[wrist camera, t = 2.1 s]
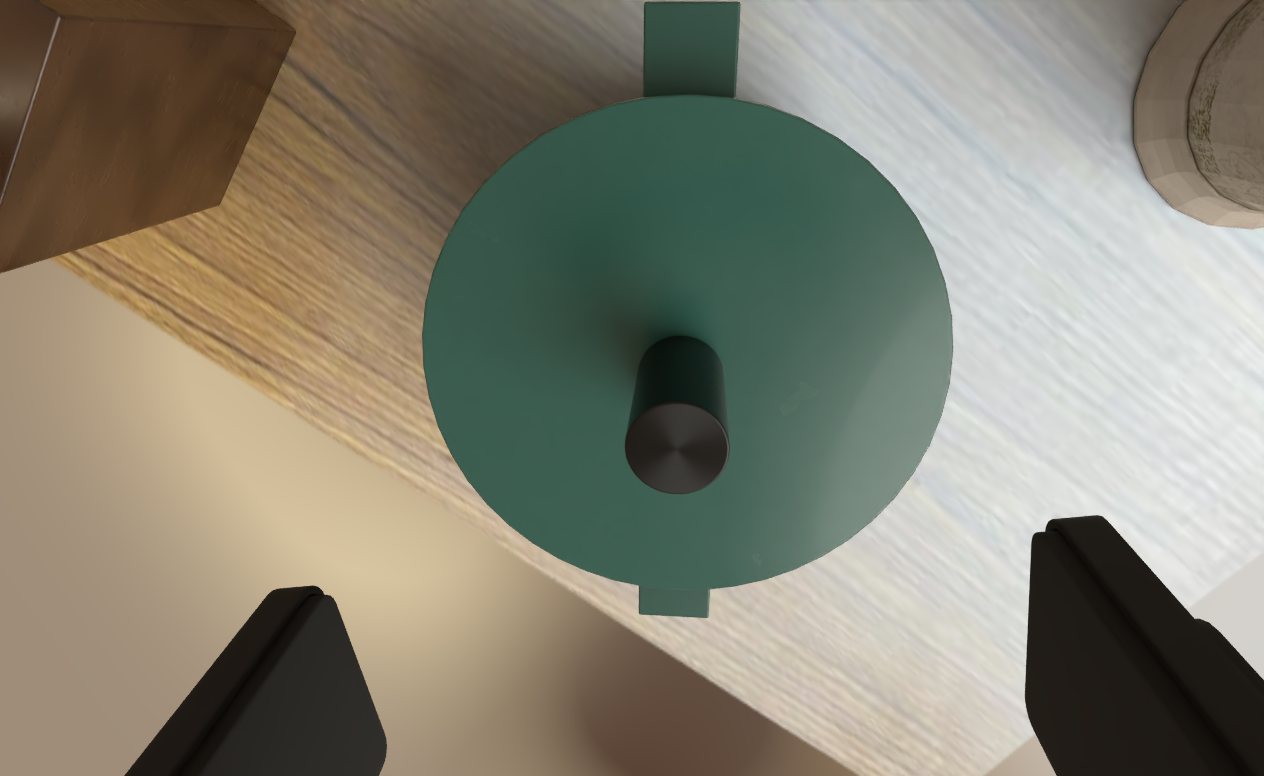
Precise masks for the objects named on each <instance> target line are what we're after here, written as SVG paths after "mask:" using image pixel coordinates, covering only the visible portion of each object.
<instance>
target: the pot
mask: <svg viewBox="0 0 1264 776" xmlns="http://www.w3.org/2000/svg"><path fill="white" fill-rule="evenodd" d="M739 23H740V2H645V3H644V65H643V97H646V96H652V95H668V94H684V93H693V94H706V95H719V96H729V97H734V98H736V80H737V61H738V42H739ZM709 598H710V589H706V590H671V589H661V588H652V587H643V586H639V614H642V615H661V616H680V617H699V618H708V616H709Z"/></svg>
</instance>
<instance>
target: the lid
mask: <svg viewBox="0 0 1264 776" xmlns="http://www.w3.org/2000/svg"><path fill="white" fill-rule="evenodd" d="M422 342H423V366H424V372H425V378H426V383H427V389H428V395H429V399H430V402H431V405H432V408H433V412H434V415H435V418H436V421H437V424H438V427H439V429H440V431H441V434H442V436H443V438H444V440H445V442H446V444H447V446H448V449H449V451H450V453H451V455H452V457H453V458H454V460H455V461H456V463H457V464H458V466H459V468H460V469H461V471H462V472H463V474H464V476H465V477H466V479H467V480H468V482H469V483H470V484H471V485H472V486H473V488H474V489H475V490H476V491H477V493H478V494H479V495H480V496H481V497H482V499H483V500H484V501H485V502H486V504H487V505H488V506H489V507H491V508H492V509H493V510H494V511H495V512H496V513H497V514H498V515H499V516H500V517H501V518H502V519H503V520H504V521H505V522H506V523H507V524H508V525H509V526H511V527H512V528H513V529H515V530H516V531H517V532H519V533H520V534H521V535H523V536H524V537H525V538H526V539H528V540H529V541H530V542H532V543H533V544H535V545H537V546H538V547H540V548H542V549H543V550H545V551H547V552H548V553H550V554H552V555H553V556H555V557H557V558H558V559H561V560H563V561H565V562H567V563H569V564H572V565H574V566H576V567H578V568H580V569H583V570H585V571H587V572H591V573H594V574H597V575H600V576H603V577H606V578H609V579H612V580H615V581H620V582H624V583H629V584H634V585H638V586H643V587H652V588H661V589H671V590H706V589H715V588H724V587H733V586H739V585H743V584H748V583H752V582H757V581H761V580H765V579H768V578H771V577H774V576H777V575H780V574H783V573H786V572H789V571H792V570H794V569H796V568H799V567H801V566H803V565H805V564H807V563H809V562H811V561H813V560H816V559H818V558H820V557H822V556H823V555H825V554H827V553H828V552H830V551H832V550H833V549H835V548H836V547H838V546H840V545H841V544H843V543H844V542H846V541H848V540H849V539H850V538H851V537H853V536H854V535H855V534H856V533H858V532H859V531H860V530H861V529H863V528H864V527H865V526H866V525H868V524H869V523H870V522H871V521H873V520H874V519H875V518H876V517H877V516H878V515H879V514H880V513H881V511H882V510H883V509H884V508H885V507H886V506H887V505H888V504H889V503H890V502H891V501H892V500H893V499H894V498H895V497H896V496H897V494H898V493H899V492H900V490H901V489H902V488H903V486H904V485H905V484H906V482H907V481H908V480H909V478H910V477H911V476H912V474H913V473H914V471H915V470H916V468H917V466H918V464H919V463H920V461H921V459H922V457H923V456H924V454H925V452H926V450H927V449H928V447H929V445H930V443H931V440H932V438H933V435H934V433H935V430H936V428H937V425H938V423H939V420H940V418H941V415H942V412H943V408H944V404H945V400H946V396H947V392H948V388H949V384H950V375H951V366H952V356H953V334H952V315H951V310H950V304H949V299H948V294H947V288H946V283H945V280H944V277H943V274H942V271H941V269H940V266H939V263H938V260H937V257H936V254H935V251H934V249H933V247H932V245H931V243H930V241H929V239H928V237H927V235H926V234H925V232H924V230H923V228H922V226H921V224H920V222H919V220H918V218H917V217H916V215H915V214H914V213H913V211H912V210H911V209H910V207H909V206H908V204H907V203H906V202H905V200H904V199H903V198H902V196H901V195H900V194H899V192H898V191H897V189H896V188H895V187H894V186H893V185H892V184H891V183H890V182H889V181H888V180H887V179H886V178H885V177H884V176H883V175H882V174H881V173H880V172H879V171H878V170H877V169H876V168H875V167H874V166H873V165H872V164H871V163H870V162H869V161H868V160H867V159H865V158H864V157H863V156H861V155H860V154H859V153H857V152H856V151H855V150H854V149H852V148H851V147H850V146H848V145H847V144H846V143H844V142H843V141H842V140H840V139H839V138H837V137H836V136H834V135H832V134H830V133H828V132H826V131H825V130H823V129H821V128H819V127H817V126H815V125H814V124H812V123H810V122H808V121H806V120H805V119H803V118H800V117H798V116H795V115H792V114H790V113H787V112H784V111H782V110H779V109H776V108H774V107H771V106H768V105H766V104H761V103H757V102H752V101H748V100H743V99H738V98H734V97H729V96H719V95H706V94H693V93H684V94H668V95H652V96H646V97H641V98H636V99H632V100H627V101H622V102H617V103H612V104H610V105H607V106H604V107H601V108H598V109H595V110H593V111H590V112H587V113H584V114H581V115H579V116H576V117H574V118H572V119H570V120H568V121H567V122H565V123H563V124H561V125H559V126H557V127H555V128H553V129H551V130H549V131H547V132H546V133H544V134H542V135H540V136H539V137H537V138H536V139H535V140H533V141H532V142H530V143H529V144H528V145H526V146H525V147H523V148H522V149H521V150H519V151H518V152H516V153H515V154H514V155H512V156H511V157H510V158H509V159H508V160H507V161H506V162H505V163H504V164H502V165H501V166H500V167H499V168H498V169H497V170H496V171H495V172H494V173H493V174H492V175H491V176H490V177H489V178H488V179H487V180H486V181H485V182H484V183H483V184H482V186H481V187H480V188H479V189H478V191H477V192H476V193H475V195H474V196H473V197H472V198H471V200H470V201H469V202H468V203H467V205H466V206H465V207H464V209H463V210H462V212H461V213H460V215H459V217H458V219H457V220H456V222H455V224H454V226H453V227H452V229H451V231H450V233H449V234H448V236H447V238H446V240H445V242H444V245H443V247H442V250H441V252H440V255H439V257H438V260H437V262H436V265H435V267H434V270H433V273H432V277H431V281H430V285H429V290H428V294H427V298H426V302H425V311H424V321H423V332H422Z"/></svg>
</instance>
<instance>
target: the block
mask: <svg viewBox="0 0 1264 776" xmlns="http://www.w3.org/2000/svg"><path fill="white" fill-rule="evenodd" d="M295 33H296V31H295V30H294V29H293V28H292V27H290V26H289V25H287V24H286V23H284V22H283V21H281V20H280V19H278V18H277V17H276V16H274V15H273V14H271V13H270V12H268V11H267V10H265V9H264V8H263V7H261V6H260V5H258V4H257V3H255V2H254V1H252V0H0V274H1V273H4V272H7V271H10V270H13V269H16V268H20V267H23V266H26V265H29V264H33V263H35V262H39V261H42V260H45V259H49V258H52V257H55V256H58V255H61V254H65V253H68V252H71V251H74V250H77V249H81V248H84V247H87V246H90V245H93V244H97V243H100V242H103V241H106V240H109V239H113V238H116V237H119V236H122V235H126V234H129V233H132V232H135V231H138V230H142V229H145V228H148V227H151V226H154V225H158V224H161V223H164V222H167V221H170V220H174V219H177V218H180V217H183V216H186V215H190V214H193V213H196V212H199V211H202V210H206V209H209V208H212V207H215V206H218V205H220V203H221V200H222V198H223V196H224V194H225V191H226V189H227V187H228V185H229V182H230V180H231V178H232V176H233V173H234V171H235V169H236V167H237V164H238V162H239V160H240V157H241V155H242V153H243V151H244V148H245V146H246V144H247V142H248V139H249V137H250V135H251V133H252V130H253V128H254V126H255V124H256V121H257V119H258V117H259V115H260V112H261V110H262V108H263V106H264V103H265V101H266V99H267V97H268V94H269V92H270V90H271V87H272V85H273V83H274V81H275V78H276V76H277V74H278V72H279V69H280V67H281V65H282V63H283V60H284V58H285V56H286V54H287V51H288V49H289V47H290V45H291V42H292V40H293V38H294V36H295Z"/></svg>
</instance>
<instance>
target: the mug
mask: <svg viewBox="0 0 1264 776" xmlns="http://www.w3.org/2000/svg"><path fill="white" fill-rule="evenodd" d="M1134 145H1135V148H1136V150H1137V153H1138V156H1139V159H1140V161H1141V164H1142V167H1143V169H1144V172H1145V175H1146V178H1147V180H1148V182H1149V183H1150V184H1151V185H1152V186H1153V187H1154V188H1155V189H1156V190H1157V191H1158V192H1159V194H1160V195H1161V196H1162V197H1163V198H1164V199H1165V200H1166V201H1167V202H1168V203H1169V204H1170V205H1171V207H1172V208H1174V209H1176V210H1178V211H1180V212H1182V213H1184V214H1187V215H1189V216H1191V217H1193V218H1195V219H1197V220H1199V221H1201V222H1204V223H1206V224H1208V225H1212V226H1222V227H1233V228H1244V229H1257V228H1262V227H1264V0H1186V1H1185V2H1184V3H1183V4H1182V5H1181V6H1180V7H1178V9H1177V10H1176V12H1175V13H1174V15H1173V16H1172V18H1171V20H1170V21H1169V23H1168V24H1167V26H1166V27H1165V29H1164V30H1163V32H1162V34H1161V35H1160V37H1159V38H1158V40H1157V41H1156V43H1155V45H1154V46H1153V48H1152V49H1151V51H1150V52H1149V55H1148V58H1147V61H1146V64H1145V67H1144V70H1143V74H1142V77H1141V80H1140V83H1139V86H1138V89H1137V93H1136V96H1135V99H1134Z"/></svg>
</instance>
